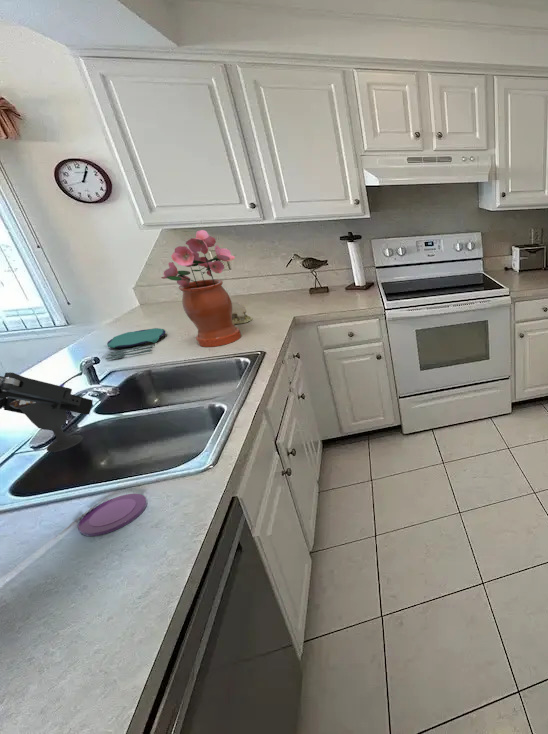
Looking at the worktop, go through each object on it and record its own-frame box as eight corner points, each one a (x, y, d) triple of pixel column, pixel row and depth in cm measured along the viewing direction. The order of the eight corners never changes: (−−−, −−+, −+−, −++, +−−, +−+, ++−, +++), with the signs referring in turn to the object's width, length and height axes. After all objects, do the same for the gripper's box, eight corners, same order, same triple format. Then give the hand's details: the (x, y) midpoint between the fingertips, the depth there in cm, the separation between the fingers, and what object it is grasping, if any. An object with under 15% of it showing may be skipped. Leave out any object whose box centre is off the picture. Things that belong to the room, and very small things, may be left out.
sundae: (41, 443, 76) (-4, 372, 70) (89, 429, 80) (51, 360, 74) (37, 460, 72) (-11, 385, 66) (88, 443, 76) (47, 372, 69)
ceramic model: (249, 315, 204) (243, 296, 200) (254, 321, 197) (248, 301, 192) (216, 322, 196) (209, 302, 192) (220, 328, 188) (213, 308, 184)
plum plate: (64, 535, 82) (62, 532, 82) (114, 495, 92) (112, 492, 92) (114, 537, 82) (112, 534, 81) (160, 497, 91) (158, 493, 91)
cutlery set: (171, 329, 189) (169, 324, 188) (157, 352, 165) (155, 347, 164) (116, 338, 181) (114, 333, 180) (93, 363, 157) (91, 358, 156)
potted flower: (260, 339, 175) (227, 230, 156) (188, 355, 162) (143, 238, 143) (253, 327, 189) (223, 225, 170) (187, 340, 176) (146, 232, 157)
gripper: (-188, 403, 53) (4, 432, 75) (-23, 392, 55) (119, 424, 77) (-162, 349, 56) (16, 393, 78) (-5, 340, 57) (127, 386, 79)
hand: (67, 408), depth 77 cm, fingers closed on sundae, 7 cm apart
